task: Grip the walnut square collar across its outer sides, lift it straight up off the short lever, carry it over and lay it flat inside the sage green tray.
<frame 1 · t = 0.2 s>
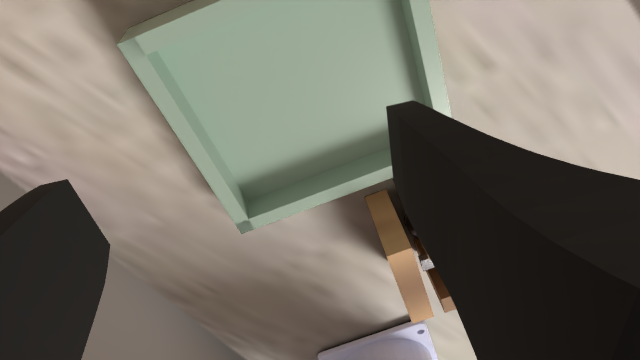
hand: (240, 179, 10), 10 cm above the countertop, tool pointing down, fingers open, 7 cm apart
tray: (305, 86, 19), on the countertop
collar: (424, 215, 25), on the countertop
lever: (424, 215, 25), on the countertop
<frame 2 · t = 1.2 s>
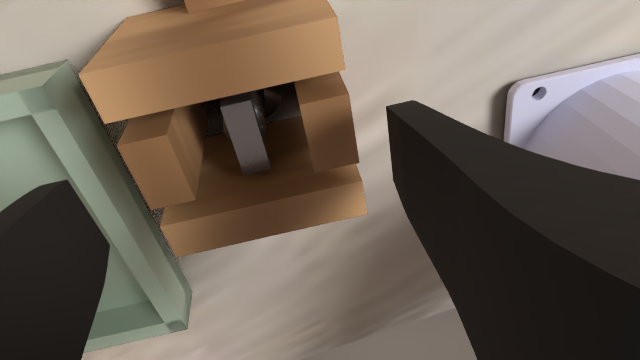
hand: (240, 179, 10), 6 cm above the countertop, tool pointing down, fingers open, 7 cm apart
tray: (12, 227, 17), on the countertop
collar: (245, 84, 15), on the countertop
lever: (245, 84, 15), on the countertop
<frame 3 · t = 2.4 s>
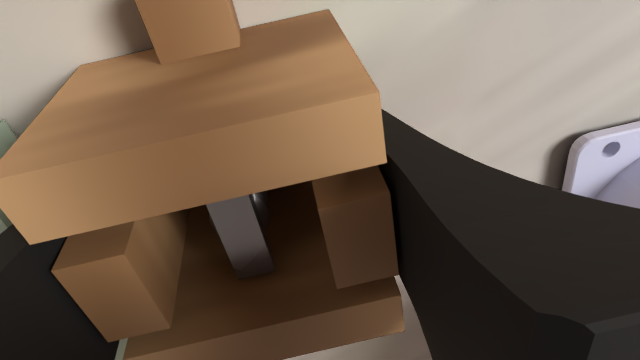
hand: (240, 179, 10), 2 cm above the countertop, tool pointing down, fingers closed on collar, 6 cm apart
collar: (240, 143, 11), on the countertop, touching gripper
lever: (240, 143, 11), on the countertop
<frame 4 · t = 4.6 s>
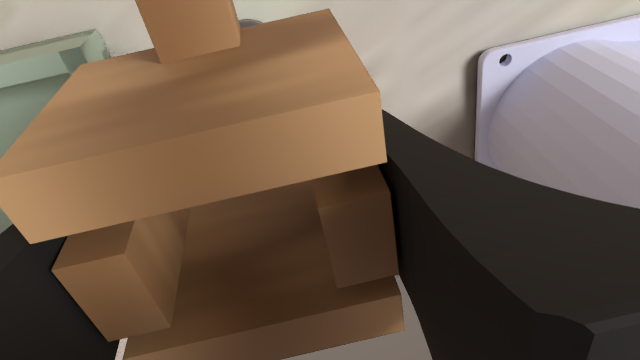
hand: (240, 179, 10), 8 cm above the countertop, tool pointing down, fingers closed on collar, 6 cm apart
tray: (44, 182, 19), on the countertop
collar: (240, 143, 11), point 7 cm above the countertop, touching gripper
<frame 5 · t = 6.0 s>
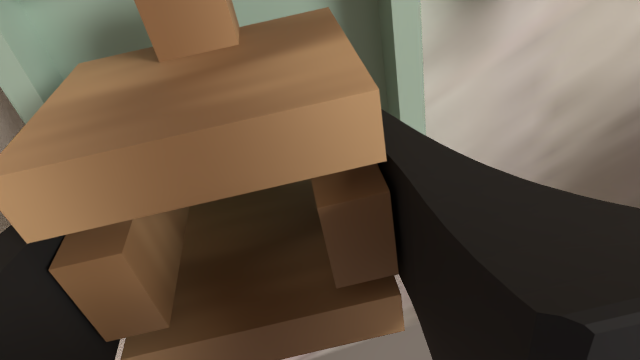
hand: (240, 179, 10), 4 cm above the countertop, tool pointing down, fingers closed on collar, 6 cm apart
tray: (242, 102, 13), on the countertop
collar: (240, 142, 11), point 3 cm above the countertop, touching gripper
when the fingers open (3 cm above the countertop, at t = 7.1 s): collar drops 1 cm, resting on tray.
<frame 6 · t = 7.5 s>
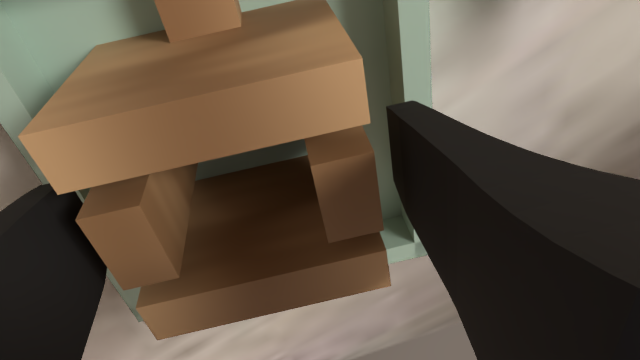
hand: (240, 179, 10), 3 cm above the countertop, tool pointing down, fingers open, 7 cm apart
tray: (241, 112, 13), on the countertop
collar: (241, 120, 12), point 1 cm above the countertop, touching tray
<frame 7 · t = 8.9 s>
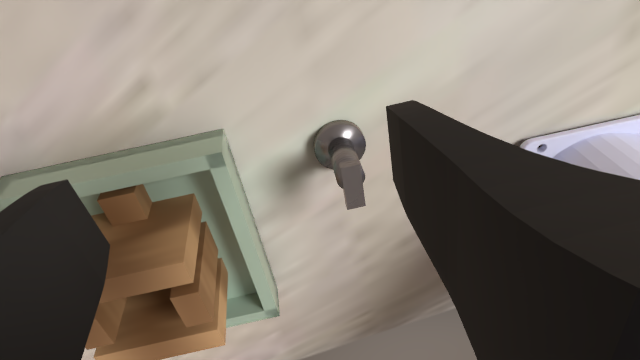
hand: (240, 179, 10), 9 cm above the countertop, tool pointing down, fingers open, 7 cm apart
tray: (159, 240, 23), on the countertop
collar: (158, 247, 22), point 1 cm above the countertop, touching tray
lever: (338, 142, 21), on the countertop
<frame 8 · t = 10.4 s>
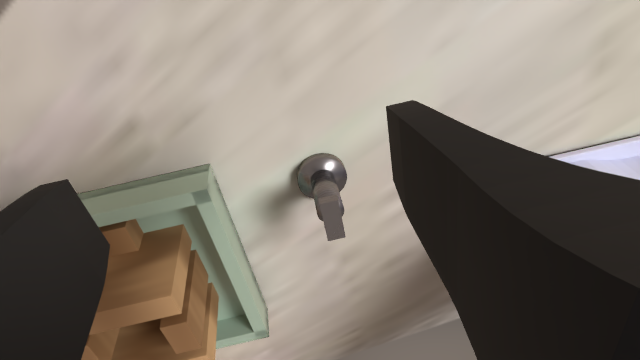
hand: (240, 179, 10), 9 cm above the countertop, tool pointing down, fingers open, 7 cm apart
tray: (152, 267, 24), on the countertop
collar: (150, 274, 23), point 1 cm above the countertop, touching tray
lever: (321, 174, 22), on the countertop
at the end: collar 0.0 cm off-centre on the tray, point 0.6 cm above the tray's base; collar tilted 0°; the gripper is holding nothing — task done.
